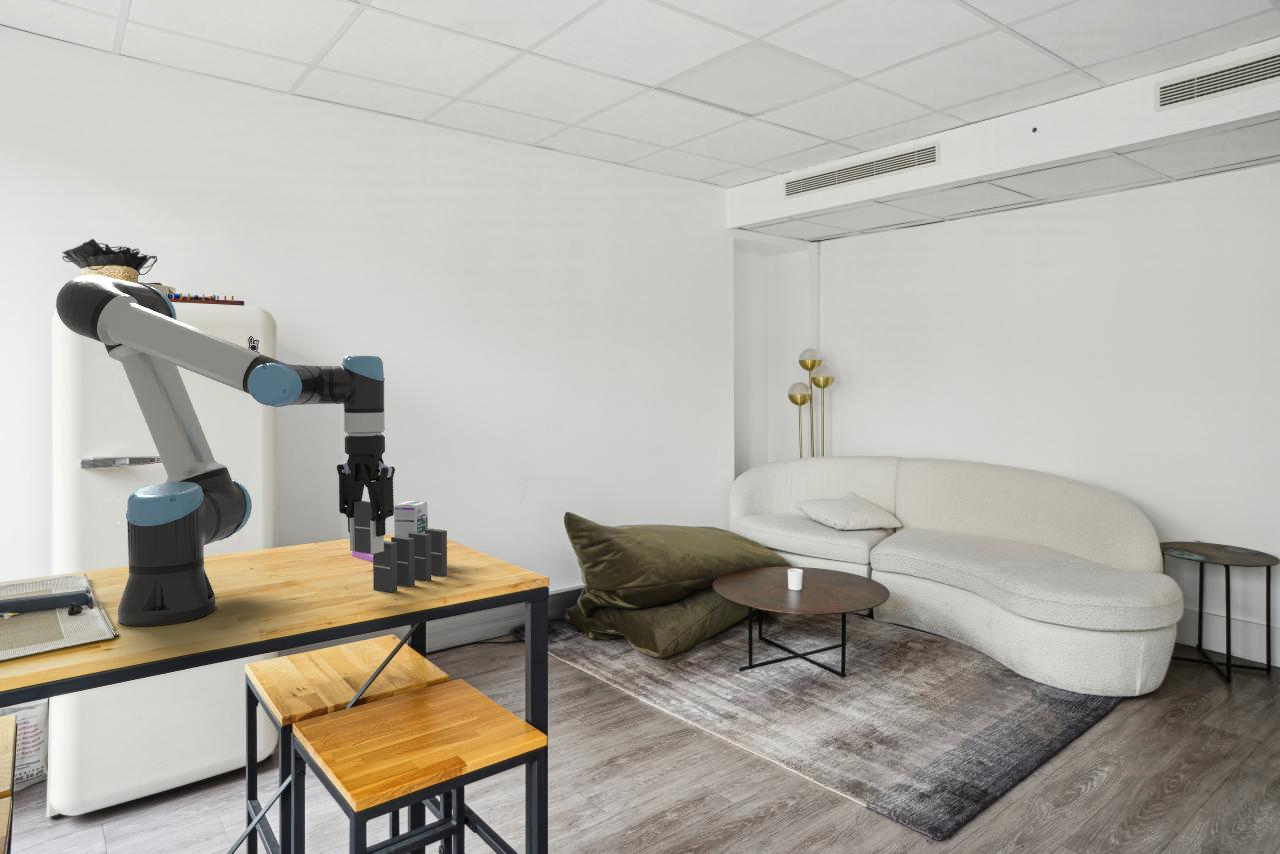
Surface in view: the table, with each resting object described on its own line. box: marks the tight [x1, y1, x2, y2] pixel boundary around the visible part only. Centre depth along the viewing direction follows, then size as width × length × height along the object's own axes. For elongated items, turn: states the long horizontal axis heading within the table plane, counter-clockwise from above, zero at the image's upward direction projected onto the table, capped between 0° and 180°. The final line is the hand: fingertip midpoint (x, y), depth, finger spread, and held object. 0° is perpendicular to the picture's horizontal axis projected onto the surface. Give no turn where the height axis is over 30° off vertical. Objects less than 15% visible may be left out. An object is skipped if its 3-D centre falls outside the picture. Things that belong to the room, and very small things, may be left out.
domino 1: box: [354, 500, 376, 554], centre depth 151 cm, size 5×2×10 cm, turn 63°
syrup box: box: [393, 500, 429, 537], centre depth 179 cm, size 6×6×14 cm
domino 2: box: [372, 540, 398, 594], centre depth 156 cm, size 5×2×10 cm, turn 63°
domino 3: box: [390, 535, 416, 588], centre depth 161 cm, size 5×2×10 cm, turn 63°
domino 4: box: [408, 532, 432, 583], centre depth 165 cm, size 5×2×10 cm, turn 63°
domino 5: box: [425, 527, 448, 577], centre depth 170 cm, size 5×2×10 cm, turn 63°
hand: (367, 550), depth 152 cm, fingers closed on domino 1, 5 cm apart
